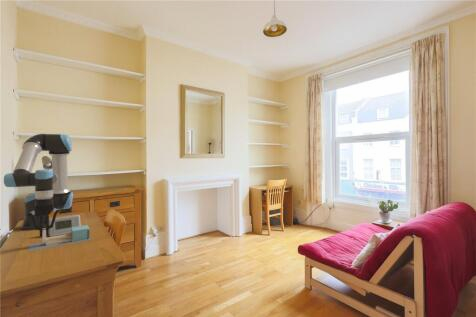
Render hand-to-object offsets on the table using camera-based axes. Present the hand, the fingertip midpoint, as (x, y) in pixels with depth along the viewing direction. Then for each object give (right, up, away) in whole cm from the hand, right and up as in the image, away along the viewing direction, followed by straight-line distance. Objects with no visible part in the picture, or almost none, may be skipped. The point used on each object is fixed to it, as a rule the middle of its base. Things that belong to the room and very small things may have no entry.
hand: (44, 241), depth 127 cm
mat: (+6, -2, +4) cm, 8 cm away
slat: (+6, -2, +5) cm, 8 cm away
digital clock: (-3, -3, +20) cm, 20 cm away
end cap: (+13, -2, +10) cm, 16 cm away
